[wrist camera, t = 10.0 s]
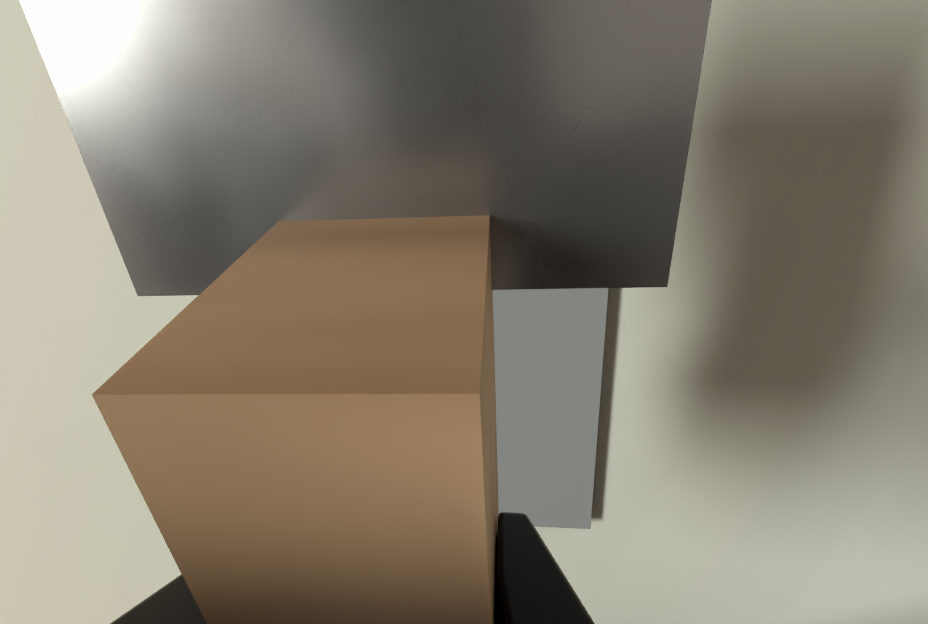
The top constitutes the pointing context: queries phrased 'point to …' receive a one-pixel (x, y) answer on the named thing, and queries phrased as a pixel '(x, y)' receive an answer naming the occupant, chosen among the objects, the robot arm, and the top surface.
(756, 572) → the top surface
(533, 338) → the mat
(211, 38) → the turner
